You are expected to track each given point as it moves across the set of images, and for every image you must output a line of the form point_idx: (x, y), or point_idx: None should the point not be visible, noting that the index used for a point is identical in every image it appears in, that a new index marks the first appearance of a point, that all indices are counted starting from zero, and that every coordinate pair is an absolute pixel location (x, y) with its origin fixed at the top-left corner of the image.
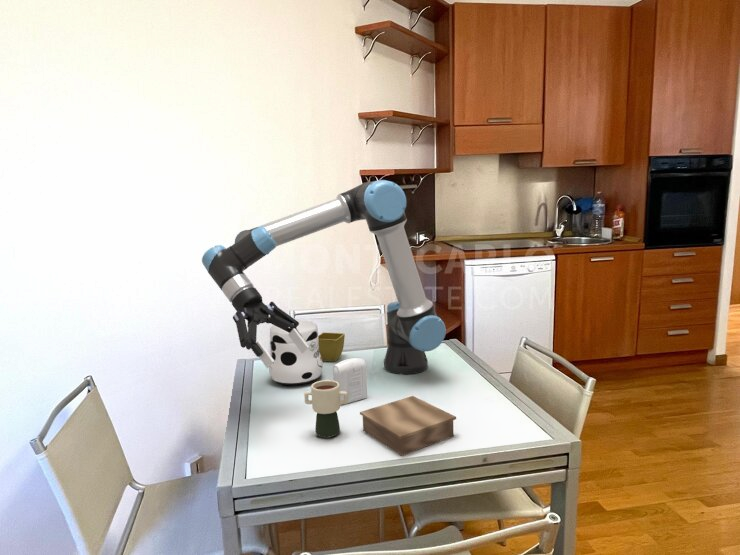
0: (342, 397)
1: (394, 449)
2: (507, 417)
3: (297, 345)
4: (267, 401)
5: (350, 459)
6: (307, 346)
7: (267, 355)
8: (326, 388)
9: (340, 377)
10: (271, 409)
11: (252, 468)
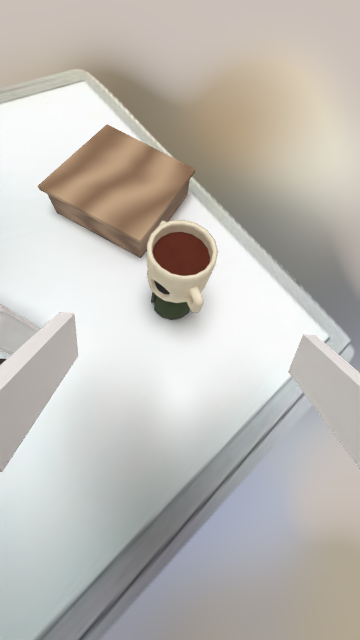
0: (39, 329)
1: (180, 202)
2: (34, 113)
3: (58, 378)
4: (69, 537)
5: (222, 242)
6: (66, 315)
7: (340, 357)
8: (173, 257)
9: (13, 314)
10: (113, 482)
11: None
